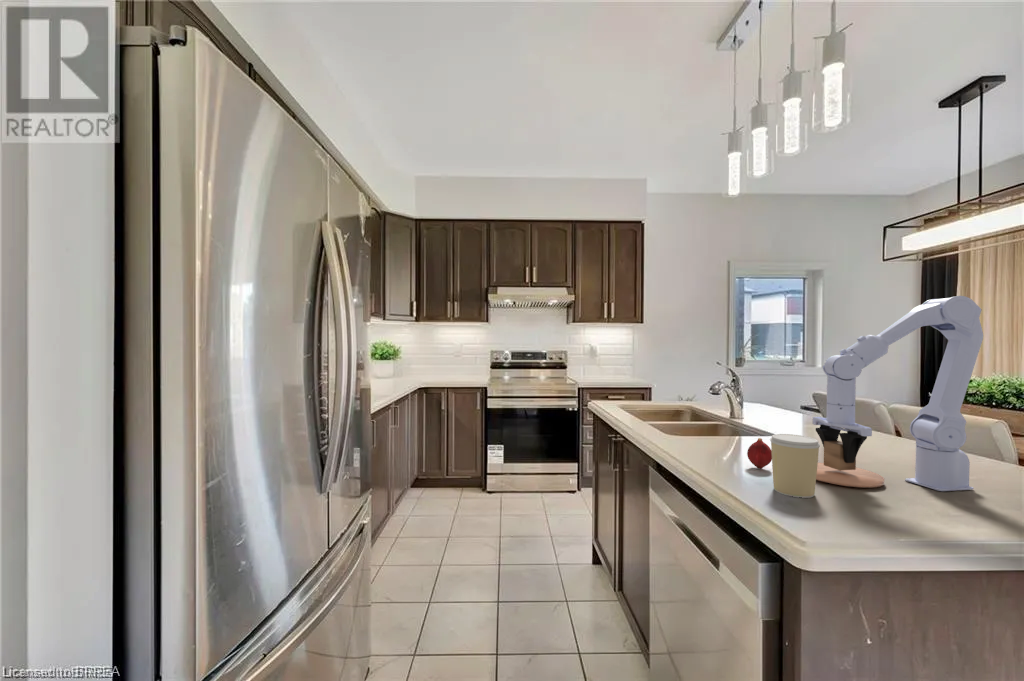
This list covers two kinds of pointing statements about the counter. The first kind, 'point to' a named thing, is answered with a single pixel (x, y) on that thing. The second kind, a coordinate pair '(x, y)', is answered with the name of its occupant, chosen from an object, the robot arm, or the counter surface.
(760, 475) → the counter surface
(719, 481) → the counter surface
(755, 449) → the onion
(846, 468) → the block
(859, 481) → the dish
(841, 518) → the counter surface
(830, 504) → the counter surface
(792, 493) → the coffee cup
